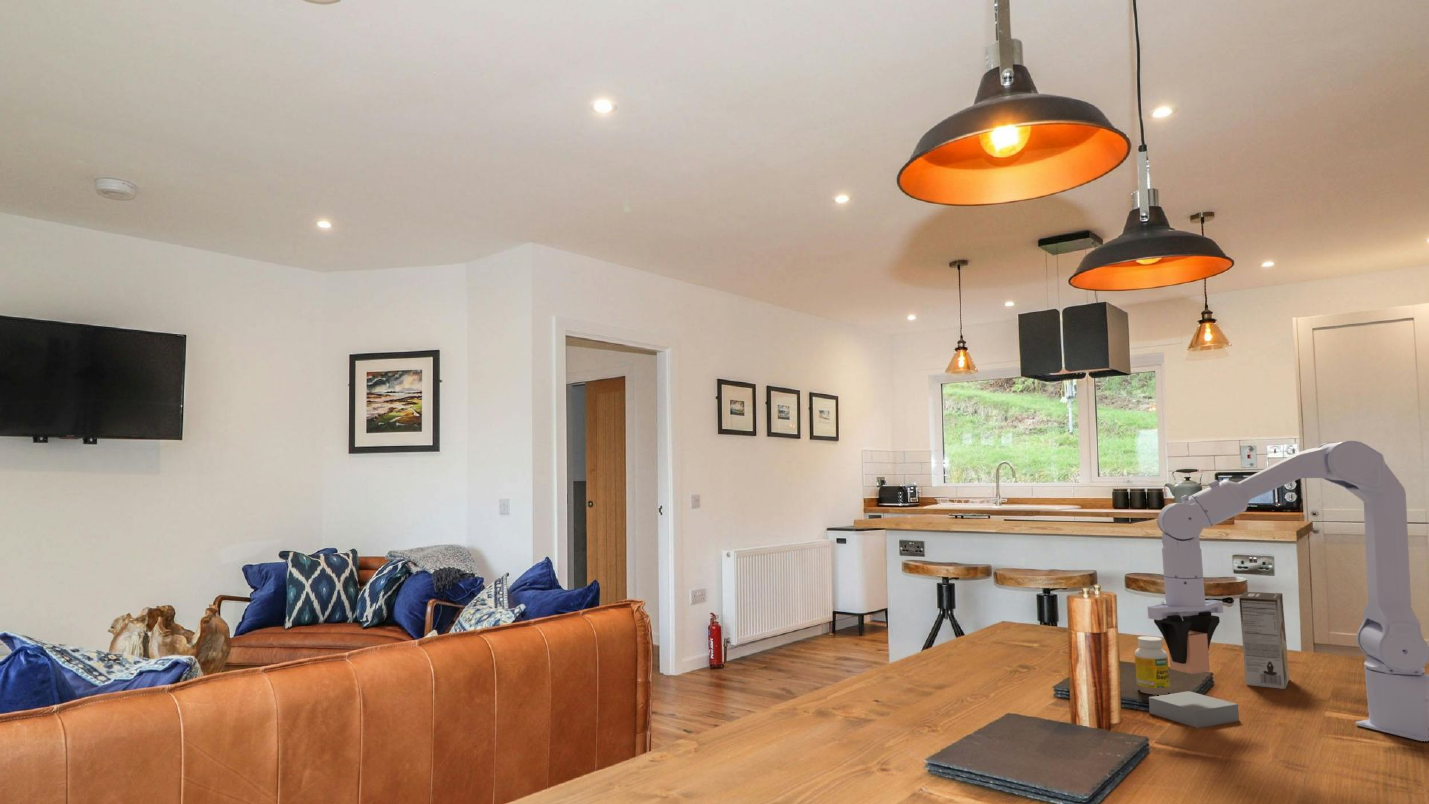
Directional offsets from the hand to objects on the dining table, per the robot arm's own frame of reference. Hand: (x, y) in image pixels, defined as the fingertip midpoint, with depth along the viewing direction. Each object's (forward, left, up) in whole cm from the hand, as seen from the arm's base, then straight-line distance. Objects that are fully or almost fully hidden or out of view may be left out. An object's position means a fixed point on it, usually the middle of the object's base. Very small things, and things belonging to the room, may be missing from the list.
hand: (1189, 661), depth 138 cm
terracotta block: (0, 0, -1) cm, 1 cm away
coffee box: (+10, -31, -9) cm, 34 cm away
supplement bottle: (+14, -7, -9) cm, 18 cm away
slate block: (0, 0, -9) cm, 9 cm away
